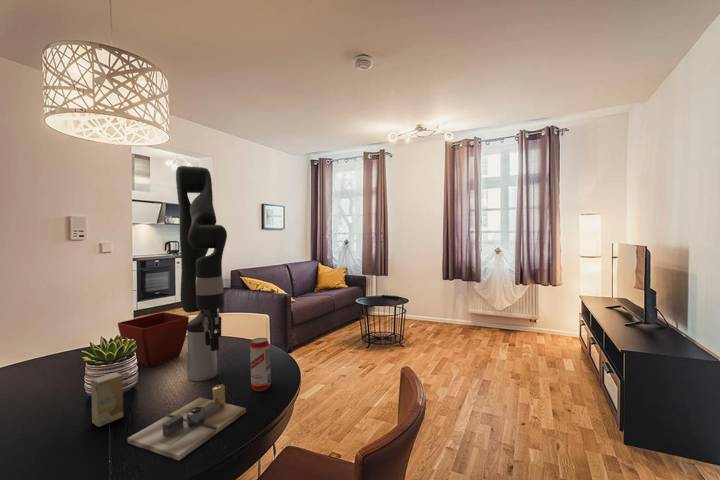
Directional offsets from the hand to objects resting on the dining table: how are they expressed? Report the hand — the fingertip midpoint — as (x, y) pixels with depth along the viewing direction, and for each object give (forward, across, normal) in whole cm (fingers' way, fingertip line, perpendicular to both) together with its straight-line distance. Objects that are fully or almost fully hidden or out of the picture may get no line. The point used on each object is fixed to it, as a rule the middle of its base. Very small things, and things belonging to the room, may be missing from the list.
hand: (212, 347), depth 103 cm
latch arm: (+16, -8, +4) cm, 18 cm away
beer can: (+18, +2, -15) cm, 23 cm away
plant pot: (+18, +54, +9) cm, 58 cm away
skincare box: (+18, +10, +26) cm, 33 cm away
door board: (+18, -8, +8) cm, 21 cm away
